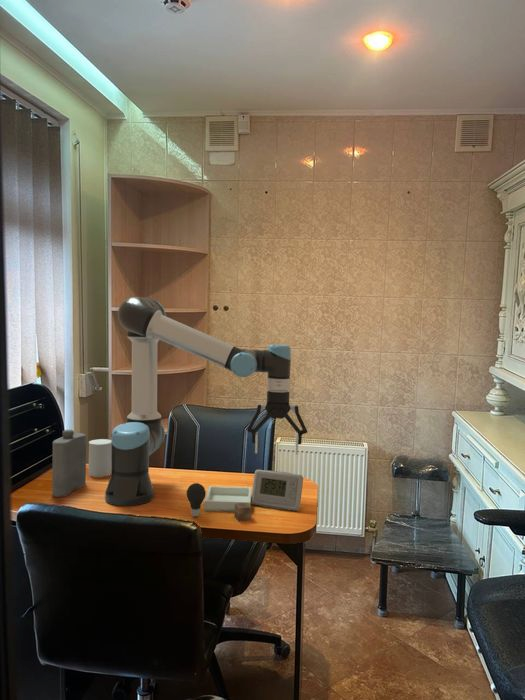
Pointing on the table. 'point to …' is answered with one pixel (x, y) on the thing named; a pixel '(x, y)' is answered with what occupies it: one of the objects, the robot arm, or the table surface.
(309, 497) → the table surface
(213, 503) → the tray
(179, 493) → the table surface
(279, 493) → the digital clock
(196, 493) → the light bulb
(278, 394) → the robot arm
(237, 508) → the walnut block
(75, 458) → the flask
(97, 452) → the cup
